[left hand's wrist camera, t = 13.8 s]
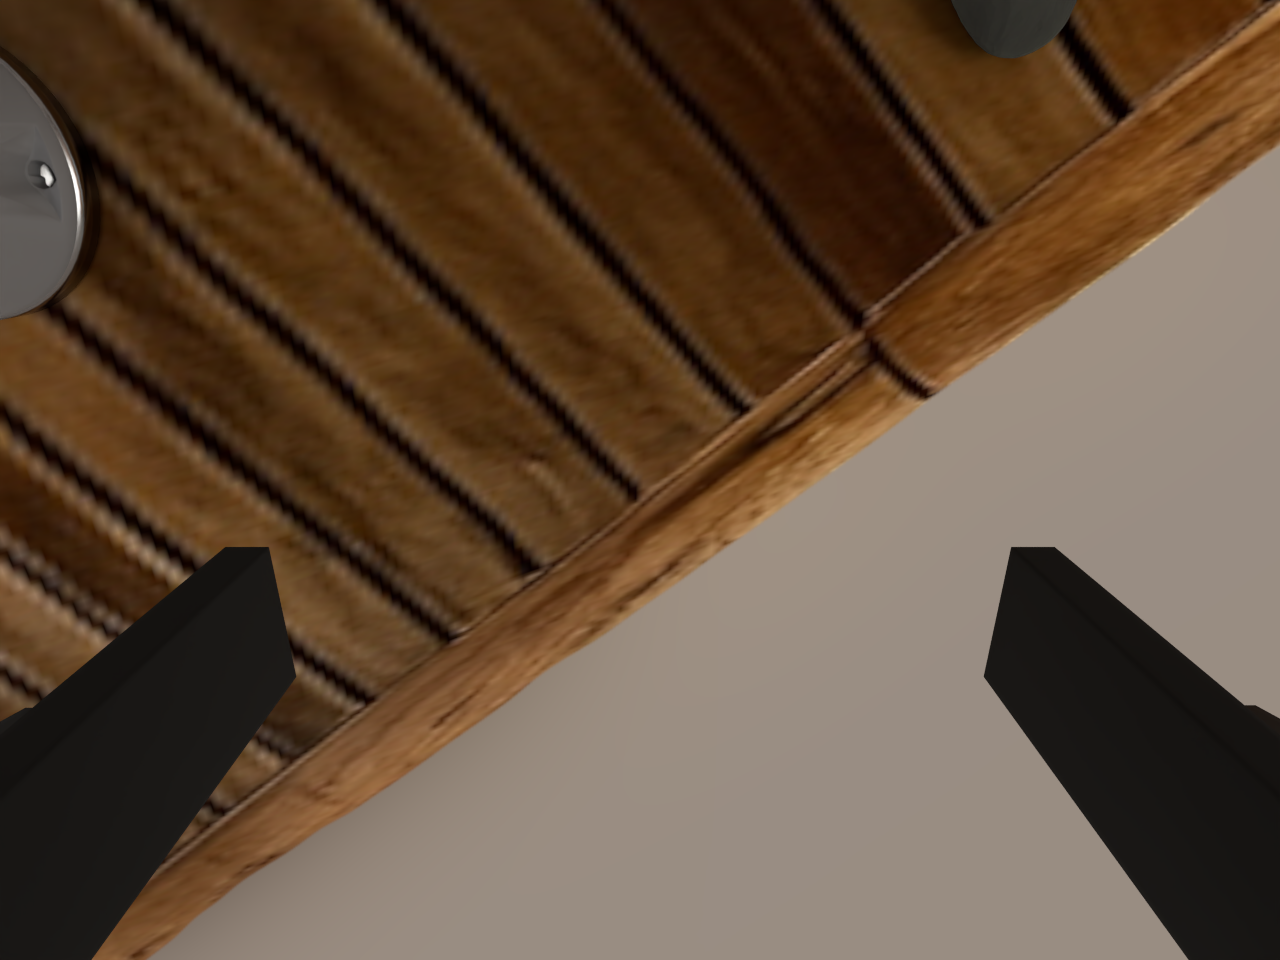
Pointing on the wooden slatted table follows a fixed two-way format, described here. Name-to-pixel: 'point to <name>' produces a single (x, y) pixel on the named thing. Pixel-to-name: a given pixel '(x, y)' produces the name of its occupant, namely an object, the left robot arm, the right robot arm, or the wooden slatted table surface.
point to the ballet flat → (1013, 23)
